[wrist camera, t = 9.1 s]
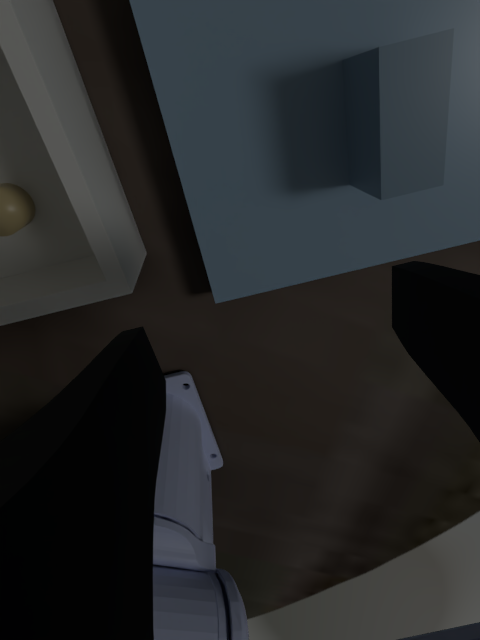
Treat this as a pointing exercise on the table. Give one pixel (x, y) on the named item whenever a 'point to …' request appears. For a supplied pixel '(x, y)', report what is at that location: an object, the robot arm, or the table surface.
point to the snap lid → (318, 131)
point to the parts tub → (55, 178)
